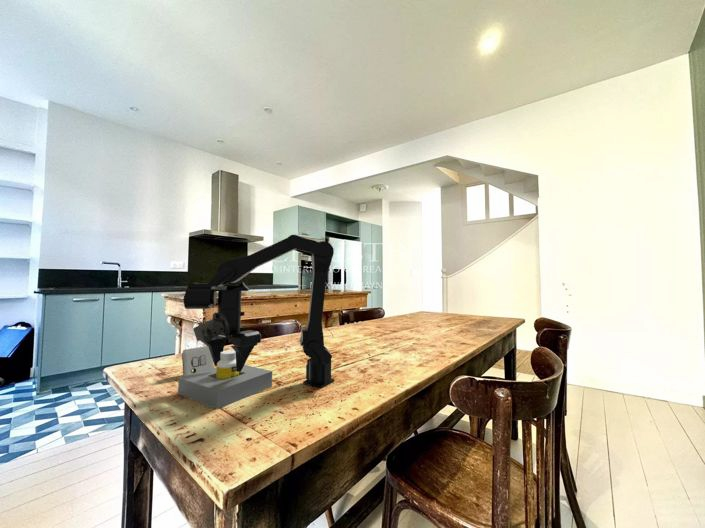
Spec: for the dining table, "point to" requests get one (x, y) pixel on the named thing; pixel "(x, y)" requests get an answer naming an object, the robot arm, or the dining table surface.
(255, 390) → the socket block
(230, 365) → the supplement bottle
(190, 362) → the electrical switch
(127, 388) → the dining table surface
